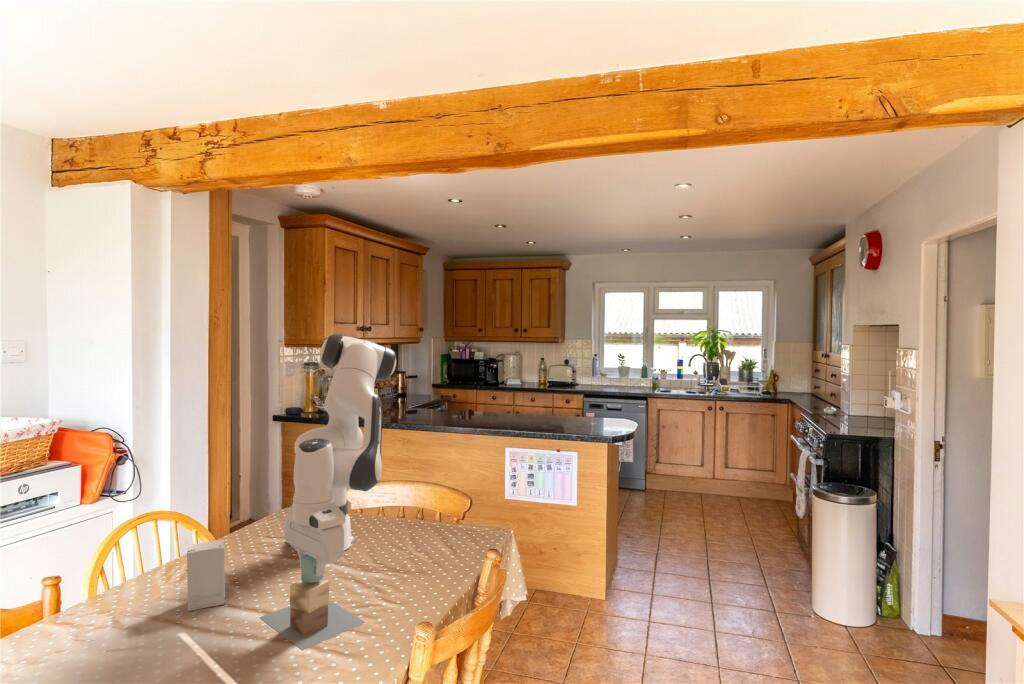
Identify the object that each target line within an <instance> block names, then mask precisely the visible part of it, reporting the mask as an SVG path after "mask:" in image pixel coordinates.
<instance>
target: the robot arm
mask: <svg viewBox="0 0 1024 684" xmlns="http://www.w3.org/2000/svg"><path fill="white" fill-rule="evenodd" d="M320 359H321V362H322V365H323V366H325V367H327V368H328V369H331V370H332V369H334V370H335V371H334V374H333V377H332V379H331V381H330V385H329V387H328V391H327V394H326V397H325V401H324V403H323V407H324V409H325V411H326V412H327V414H328V415H329V417H328V423H327V424H326V425H325V426H322V427H316V428H312V429H309V430H307V431H305V432H304V433H302V434H300V435H299V436H298V437H297V438H296V440H295V442H294V446H293V447H294V455H295V457H294V464H293V465H294V466H293V478H292V479H293V480H292V481H293V484H294V495H293V497H292V505H290V507H289V510H288V513H287V514H286V516H285V523H284V534H283V536H284V537H283V538H284V541H285V543H287V544H289V545H290V546H291V548H292V549H294V550H295V552H297V555H298V559H299V567H300V568H301V558H302V556H303V555H305V554H310V555H312V556H314V557H316V561H317V562H318V563H317V566H316V567H314V574H315V575H317V576H321V575H323V576H324V574H325V567H326V565H327V564H332V563H336V562H338V561H340V560H342V558H343V557H344V552H345V551H346V550H348V549H349V548H351V543H352V542H354V540H355V539H354V536H353V535H352V531H351V529H352V528H351V517H350V516H349V514H348V512H349V502H348V498H347V497H348V496H347V495H348V491H347V490H354V491H360V492H361V491H362V492H368V491H370V490H371V489H372V488H374V487H376V486H377V485H378V484H379V482H380V481H381V478H382V474H383V463H382V462H383V461H382V441H383V437H382V436H383V434H382V433H383V404H382V399H381V397H380V396H379V395H378V393H376V392H375V388H374V387H375V383H376V381H378V382H379V381H380V382H382V381H383V382H384V381H387V380H388V379H390V377H391V376H392V374H393V373H394V372H395V370H396V367H397V355H396V353H395V351H394V350H393V349H391V348H390V347H388V346H383V345H379V344H377V343H375V342H373V341H370V340H367V339H365V340H364V339H360V338H358V337H357V338H356V337H351V336H347V335H346V336H345V335H344V334H341V333H339V334H338V333H333V334H330V335H329V336H328V337H327V338H326V339H325V340H324V342H323V343H322V346H321V349H320ZM359 417H360V418H362V419H363V420H364V424H363V425H364V426H363V427H364V428H363V431H362V430H361V428H360V427H359Z"/></svg>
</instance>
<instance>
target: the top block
mask: <svg viewBox="0 0 1024 684" xmlns="http://www.w3.org/2000/svg"><path fill="white" fill-rule="evenodd" d="M289 587H290V588H289V606H290V607H291V608H294V609H297V610H300V611H304V612H307V613H311V612H312V611H314V610H316V609H318V608H319V607H321V606H323V605H325V604H326V603H328V602H329V600H330V580H328V579H325V578H323V579H321V580H320V581H317V582H313V583H305V582H302V581H301V579H300V580H298V581H296V582H294V583H292V584H290V585H289Z"/></svg>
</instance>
